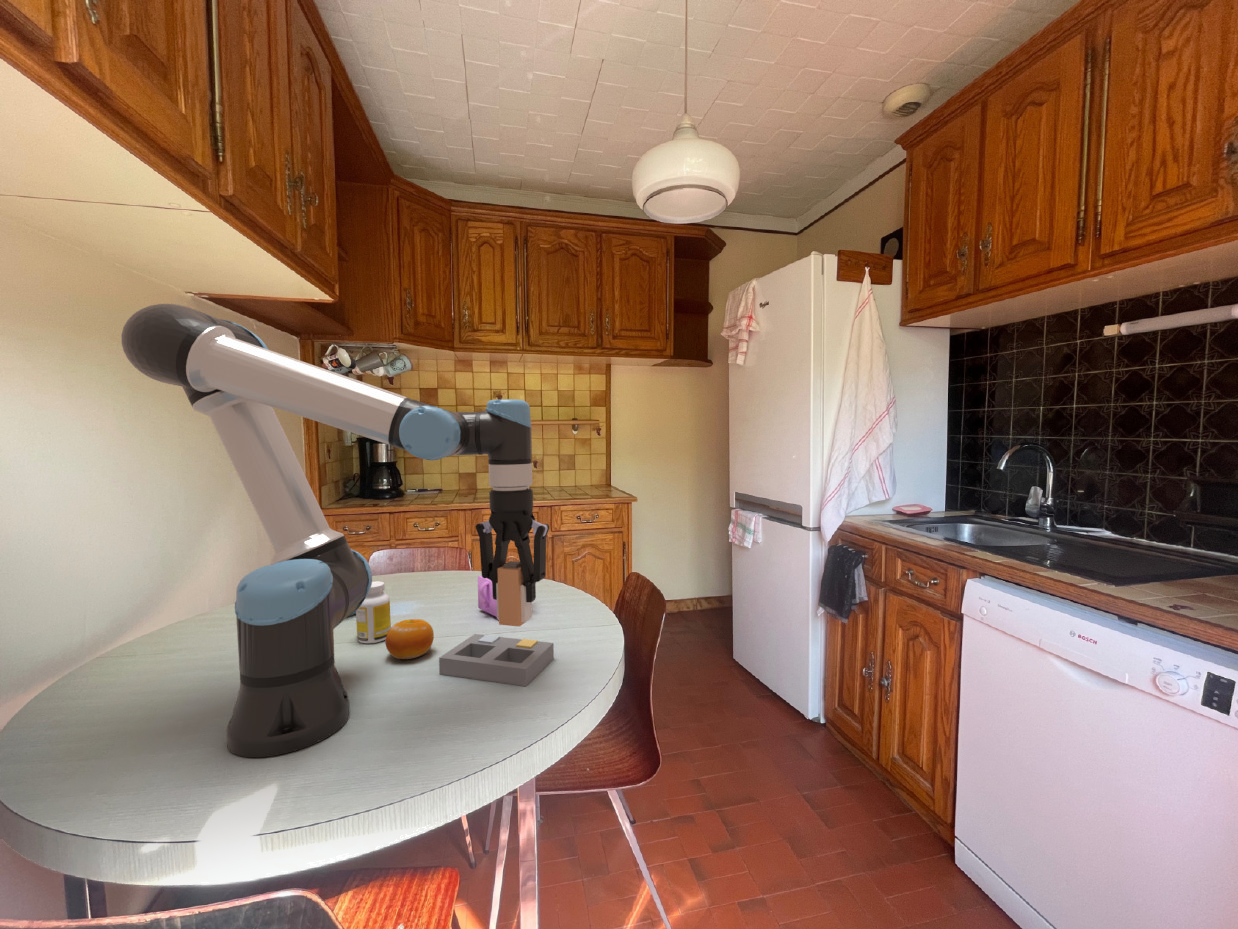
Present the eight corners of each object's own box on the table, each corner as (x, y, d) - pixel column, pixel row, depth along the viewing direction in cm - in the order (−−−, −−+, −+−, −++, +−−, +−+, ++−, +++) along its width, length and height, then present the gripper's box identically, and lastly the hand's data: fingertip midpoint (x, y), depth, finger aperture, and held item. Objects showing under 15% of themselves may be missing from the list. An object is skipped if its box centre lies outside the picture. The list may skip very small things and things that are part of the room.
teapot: (461, 608, 128) (460, 568, 128) (510, 596, 138) (510, 558, 137) (498, 628, 115) (497, 583, 115) (550, 613, 125) (549, 571, 124)
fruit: (442, 626, 107) (420, 600, 103) (439, 657, 99) (415, 630, 95) (406, 645, 107) (382, 620, 103) (399, 677, 99) (373, 651, 95)
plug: (519, 626, 91) (517, 566, 90) (499, 624, 92) (497, 565, 91) (529, 618, 95) (528, 561, 94) (510, 616, 96) (508, 559, 95)
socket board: (526, 686, 88) (525, 666, 88) (439, 674, 93) (439, 655, 93) (553, 658, 99) (553, 640, 99) (475, 648, 104) (474, 632, 104)
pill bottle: (397, 633, 113) (395, 580, 112) (380, 645, 106) (378, 589, 106) (368, 632, 113) (366, 579, 113) (350, 644, 107) (348, 588, 106)
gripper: (564, 486, 93) (567, 615, 94) (479, 485, 98) (483, 607, 99) (546, 490, 86) (550, 630, 87) (456, 489, 91) (461, 621, 92)
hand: (514, 618), depth 93 cm, fingers closed on plug, 4 cm apart
